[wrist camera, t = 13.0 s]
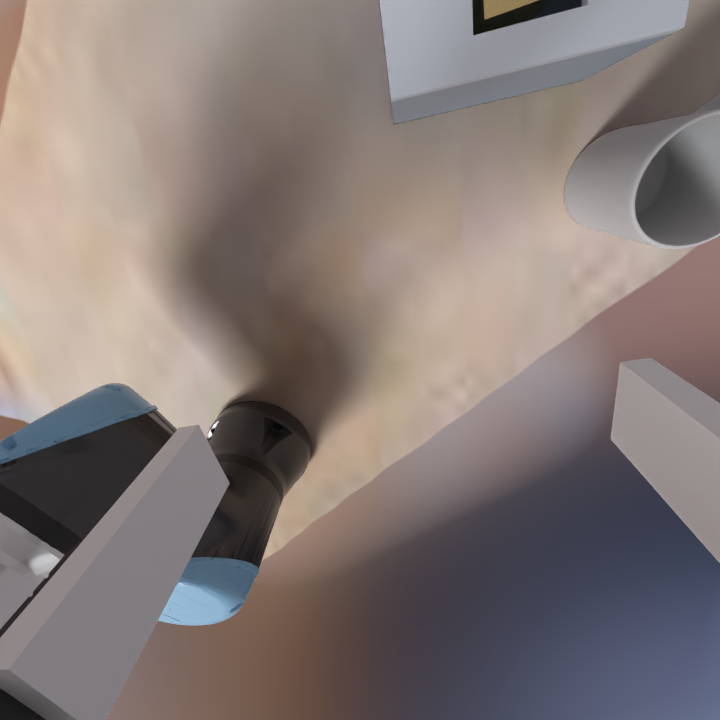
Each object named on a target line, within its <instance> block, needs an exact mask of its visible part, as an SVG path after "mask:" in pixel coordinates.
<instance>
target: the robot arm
mask: <svg viewBox="0 0 720 720" xmlns="http://www.w3.org/2000/svg"><path fill="white" fill-rule="evenodd" d="M611 440H612V441H613V442H614V443H615V444H616V446H617V447H618V448H619V449H620V450H621V451H622V452H623V453H624V455H625V456H626V457H627V458H628V459H629V460H630V461H631V463H632V464H633V465H634V466H635V467H636V468H637V469H638V470H639V472H640V473H641V474H642V475H643V476H644V477H645V479H646V480H647V481H648V482H649V483H650V484H651V485H652V486H653V488H654V489H655V490H656V491H657V492H658V493H659V494H660V496H661V497H662V498H663V499H664V500H665V501H666V502H667V503H668V505H669V506H670V507H671V508H672V509H673V510H674V511H675V513H676V514H677V515H678V516H679V517H680V518H681V519H682V521H683V522H684V523H685V524H686V525H687V526H688V527H689V529H690V530H691V531H692V532H693V533H694V534H695V535H696V537H697V538H698V539H699V540H700V541H701V542H702V543H703V544H704V546H705V547H706V548H707V549H708V550H709V551H710V552H711V554H712V555H713V556H714V557H715V558H716V559H717V560H718V562H719V563H720V404H719V403H718V402H717V401H715V400H714V399H712V398H710V397H709V396H708V395H706V394H705V393H703V392H701V391H700V390H698V389H697V388H695V387H694V386H692V385H691V384H689V383H688V382H686V381H685V380H683V379H682V378H680V377H678V376H677V375H676V374H674V373H673V372H671V371H670V370H668V369H667V368H665V367H664V366H662V365H661V364H659V363H657V362H656V361H654V360H653V359H651V358H647V359H640V360H634V361H626V362H621V363H620V369H619V376H618V384H617V392H616V400H615V408H614V416H613V424H612V432H611ZM310 455H311V442H310V438H309V436H308V434H307V432H306V430H305V428H304V427H303V426H302V424H301V423H300V422H299V421H298V420H297V419H296V418H294V417H293V416H292V415H291V414H289V413H288V412H286V411H284V410H282V409H281V408H278V407H276V406H273V405H270V404H266V403H261V402H242V403H238V404H235V405H232V406H230V407H228V408H227V409H225V410H224V411H223V412H222V413H221V414H220V415H219V416H218V418H217V419H216V420H215V422H214V423H213V424H212V426H211V428H210V430H209V433H208V436H207V439H206V438H205V436H204V434H203V432H202V430H201V428H200V426H199V425H195V426H189V427H182V428H178V430H177V429H176V428H175V427H174V426H173V425H172V424H171V423H170V422H169V421H168V420H167V419H165V418H164V417H163V416H162V415H161V414H160V413H159V412H158V411H157V407H156V406H152V405H151V404H149V403H148V402H147V401H146V400H145V399H143V398H142V397H141V396H140V395H139V394H137V393H136V392H135V391H134V390H133V389H131V388H130V387H129V386H127V385H124V384H120V383H111V384H106V385H103V386H101V387H98V388H96V389H94V390H92V391H90V392H88V393H86V394H84V395H82V396H80V397H78V398H76V399H74V400H72V401H71V402H69V403H67V404H65V405H63V406H61V407H59V408H58V409H56V410H54V411H52V412H50V413H48V414H47V415H45V416H43V417H41V418H39V419H38V420H36V421H34V422H32V423H30V424H29V425H27V426H25V427H23V428H22V429H20V430H18V431H17V432H15V433H14V434H12V435H10V436H8V437H7V438H5V439H4V440H2V441H0V720H106V718H107V717H108V715H109V713H110V711H111V709H112V707H113V705H114V703H115V701H116V699H117V697H118V696H119V694H120V692H121V690H122V688H123V686H124V684H125V682H126V680H127V678H128V676H129V674H130V672H131V671H132V668H133V667H134V665H135V663H136V661H137V659H138V657H139V655H140V654H141V652H142V650H143V648H144V646H145V644H146V642H147V640H148V638H149V636H150V634H151V632H152V631H153V629H154V627H155V625H156V623H157V621H163V622H167V623H173V624H180V625H208V624H213V623H218V622H221V621H224V620H226V619H228V618H230V617H231V616H233V615H234V614H236V613H237V612H238V611H239V610H240V608H241V607H242V606H243V604H244V602H245V600H246V598H247V595H248V593H249V591H250V588H251V586H252V584H253V581H254V579H255V578H256V577H257V575H258V572H259V566H260V564H261V561H262V558H263V555H264V552H265V549H266V546H267V543H268V540H269V537H270V534H271V531H272V529H273V526H274V523H275V520H276V517H277V514H278V511H279V508H280V505H281V503H282V500H283V498H284V496H285V495H286V494H287V493H288V491H289V490H290V489H291V488H292V486H293V485H294V484H295V482H296V481H297V480H298V479H299V478H300V477H301V476H302V475H303V473H304V472H305V470H306V468H307V465H308V462H309V459H310Z"/></svg>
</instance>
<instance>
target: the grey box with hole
mask: <svg viewBox="0 0 720 720" xmlns="http://www.w3.org/2000/svg"><path fill="white" fill-rule="evenodd" d="M379 4H380V12H381V21H382V30H383V38H384V47H385V55H386V64H387V73H388V81H389V90H390V98H391V107H392V116H393V124H398V123H402V122H406V121H411V120H415V119H419V118H423V117H428V116H432V115H436V114H441V113H445V112H449V111H453V110H458V109H462V108H466V107H471V106H475V105H479V104H483V103H488V102H492V101H496V100H501V99H505V98H509V97H513V96H518V95H522V94H526V93H531V92H535V91H539V90H543V89H548V88H552V87H556V86H561V85H565V84H569V83H573V82H578V81H582V80H583V79H585V78H587V77H589V76H591V75H593V74H595V73H597V72H599V71H601V70H603V69H605V68H607V67H609V66H611V65H613V64H614V63H616V62H618V61H620V60H622V59H624V58H626V57H628V56H630V55H632V54H634V53H636V52H638V51H640V50H642V49H643V48H645V47H647V46H649V45H651V44H653V43H655V42H657V41H659V40H661V39H663V38H665V37H667V36H669V35H671V34H672V33H674V32H676V31H678V30H680V29H682V28H684V27H685V21H686V16H687V11H688V5H689V0H548V2H547V3H546V4H545V5H544V6H543V7H542V9H541V10H540V11H539V12H538V13H537V14H536V16H535V17H534V18H533V19H532V20H529V21H526V22H522V23H518V24H514V25H511V26H507V27H503V28H499V29H496V30H492V31H488V32H485V33H481V34H477V35H473V9H472V0H379Z"/></svg>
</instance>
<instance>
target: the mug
mask: <svg viewBox="0 0 720 720" xmlns="http://www.w3.org/2000/svg"><path fill="white" fill-rule="evenodd" d="M564 200H565V205H566V208H567V211H568V213H569V214H570V216H571V217H572V218H573V220H574V221H576V222H577V223H578V224H580V225H581V226H583V227H586V228H588V229H591V230H595V231H600V232H604V233H608V234H612V235H615V236H619V237H622V238H626V239H629V240H633V241H637V242H640V243H644V244H647V245H651V246H655V247H659V248H666V249H681V248H688V247H692V246H696V245H700V244H702V243H705V242H708V241H710V240H712V239H714V238H716V237H718V236H720V94H719V95H717V96H715V97H714V98H712V99H711V100H709V101H708V102H707V103H705V104H704V105H703V106H701V107H700V108H699V109H698V110H697V111H696V112H694V113H693V114H689V115H684V116H680V117H675V118H670V119H665V120H660V121H656V122H651V123H646V124H640V125H634V126H628V127H623V128H619V129H616V130H613V131H610V132H608V133H606V134H604V135H602V136H601V137H599V138H597V139H596V140H595V141H593V142H592V143H591V144H589V145H588V146H587V147H586V148H585V149H584V150H583V151H582V153H581V154H580V155H579V156H578V157H577V159H576V160H575V162H574V163H573V165H572V167H571V169H570V171H569V173H568V176H567V179H566V183H565V188H564Z"/></svg>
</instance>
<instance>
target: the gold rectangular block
mask: <svg viewBox="0 0 720 720" xmlns="http://www.w3.org/2000/svg"><path fill="white" fill-rule="evenodd" d="M547 2H548V0H472V9H473V35H477V34H481V33H485V32H488V31H492V30H496V29H499V28H503V27H507V26H511V25H514V24H518V23H522V22H526V21H529V20H532V19H533V18H534V17H535V16H536V14H537V13H538V12H539V11H540V10H541V9H542V7H543V6H544V5H545V4H546V3H547Z"/></svg>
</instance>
